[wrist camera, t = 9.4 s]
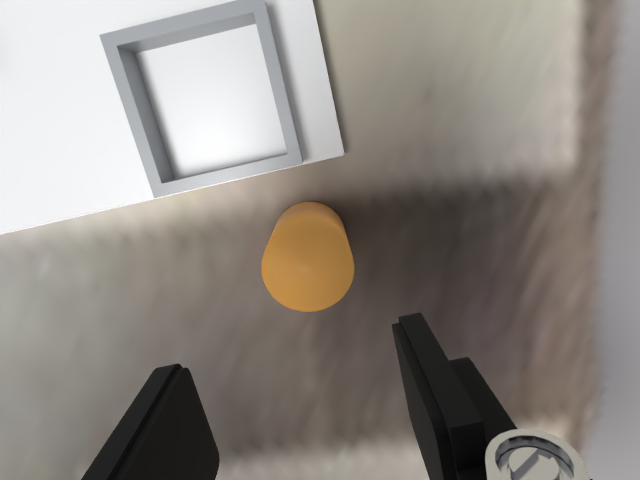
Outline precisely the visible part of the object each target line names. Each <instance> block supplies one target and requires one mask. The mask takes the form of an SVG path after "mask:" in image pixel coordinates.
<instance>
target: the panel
mask: <svg viewBox="0 0 640 480" xmlns="http://www.w3.org/2000/svg"><path fill="white" fill-rule="evenodd" d="M339 156H344V150H343V145H342V140H341V135H340V131H339V126H338V121H337V116H336V111H335V106H334V101H333V97H332V92H331V87H330V82H329V77H328V72H327V68H326V63H325V58H324V53H323V48H322V43H321V38H320V34H319V29H318V24H317V19H316V14H315V9H314V5H313V0H0V235H1V234H5V233H10V232H14V231H18V230H23V229H27V228H31V227H36V226H40V225H44V224H49V223H53V222H57V221H62V220H66V219H70V218H75V217H79V216H83V215H88V214H92V213H96V212H101V211H105V210H109V209H114V208H118V207H122V206H127V205H131V204H135V203H140V202H144V201H149V200H153V199H157V198H162V197H166V196H170V195H175V194H179V193H183V192H188V191H192V190H196V189H201V188H205V187H209V186H214V185H218V184H222V183H227V182H231V181H235V180H240V179H244V178H248V177H253V176H257V175H261V174H266V173H270V172H274V171H279V170H283V169H287V168H292V167H296V166H300V165H305V164H309V163H313V162H318V161H322V160H326V159H331V158H335V157H339Z"/></svg>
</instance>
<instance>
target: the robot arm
mask: <svg viewBox="0 0 640 480" xmlns="http://www.w3.org/2000/svg"><path fill="white" fill-rule="evenodd" d="M392 328H393V334H394V339H395V344H396V349H397V354H398V359H399V364H400V369H401V374H402V379H403V384H404V389H405V394H406V399H407V404H408V410H409V414H410V419H411V423H412V426H413V429H414V432H415V436H416V439H417V442H418V445H419V448H420V451H421V454H422V457H423V460H424V463H425V466H426V469H427V472H428V475H429V478H430V480H592V479H590V478H589V475H588V472H587V470H586V467H585V464H584V462H583V461H582V459H581V457H580V456H579V454H578V452H576V451H575V450H574V449H573V448H572V447H571V446H570V445H569V444H568V443H567V442H565V441H563V440H561V439H560V438H558V437H556V436H554V435H552V434H549V433H546V432H542V431H539V430H531V429H517V428H516V426H515V425H514V423H513V422H512V420H511V419H510V417H509V416H508V414H507V413H506V411H505V410H504V408H503V407H502V405H501V404H500V402H499V401H498V399H497V398H496V397H495V395H494V394H493V392H492V391H491V389H490V388H489V386H488V385H487V383H486V382H485V380H484V379H483V377H482V376H481V374H480V373H479V371H478V370H477V368H476V367H475V365H474V364H473V362H472V361H471V360H470V359H469V358H468V357H465V358H460V359H455V360H450V361H448V359H447V357H446V356H445V354H444V352H443V350H442V349H441V347H440V345H439V343H438V342H437V340H436V338H435V336H434V335H433V333H432V331H431V330H430V328H429V326H428V324H427V323H426V321H425V319H424V317H423V316H422V314H421V313H416V314H411V315H406V316H401V317H399V323H396V324H392ZM218 468H219V453H218V449H217V446H216V443H215V441H214V438H213V435H212V432H211V429H210V426H209V424H208V421H207V418H206V415H205V412H204V410H203V407H202V404H201V401H200V398H199V395H198V393H197V390H196V387H195V384H194V381H193V378H192V376H191V373H190V371H189V369H188V368H183V367H182V366H181V365H180V364H174V365H169V366H164V367H159V368H156V369H155V370H154V371H153V372H152V374H151V375H150V377H149V378H148V380H147V381H146V383H145V384H144V386H143V387H142V389H141V390H140V392H139V393H138V395H137V396H136V398H135V399H134V401H133V403H132V404H131V406H130V407H129V409H128V410H127V412H126V413H125V415H124V416H123V418H122V419H121V421H120V422H119V424H118V425H117V427H116V428H115V430H114V431H113V433H112V434H111V436H110V437H109V439H108V440H107V442H106V443H105V445H104V446H103V448H102V449H101V451H100V452H99V454H98V455H97V457H96V458H95V460H94V461H93V463H92V464H91V466H90V467H89V469H88V470H87V472H86V473H85V475H84V476H83V478H82V479H81V480H215V478H216V475H217V471H218Z"/></svg>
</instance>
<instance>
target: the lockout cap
mask: <svg viewBox="0 0 640 480" xmlns="http://www.w3.org/2000/svg"><path fill="white" fill-rule="evenodd" d="M261 269H262V277H263V281H264V283H265V286H266V288H267V289H268V291H269V292H270V294H271V295H272V296H273V297H274V298H275V299H276V300H277V301H278V302H279V303H281V304H282V305H284V306H286V307H288V308H290V309H293V310H297V311H303V312H314V311H319V310H323V309H326V308H328V307H330V306H332V305H334V304H335V303H337V302H338V301H339V300H340V299H341V298H342V297H343V296H344V295H345V294H346V292H347V291H348V289H349V288H350V285H351V283H352V280H353V276H354V260H353V256H352V253H351V249H350V246H349V242H348V239H347V236H346V232H345V229H344V225H343V223H342V221H341V219H340V217H339V216H338V215H337V213H336V212H335V211H333V210H332V209H331V208H330V207H328V206H326V205H324V204H321V203H318V202H301V203H298V204H295V205H293V206H291V207H289V208H288V209H287V210H285V211H284V212H283V213H282V214H281V216H280V217H279V219H278V221H277V223H276V225H275V228H274V230H273V232H272V235H271V237H270V240H269V242H268V245H267V247H266V250H265V252H264V255H263V259H262V267H261Z"/></svg>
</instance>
